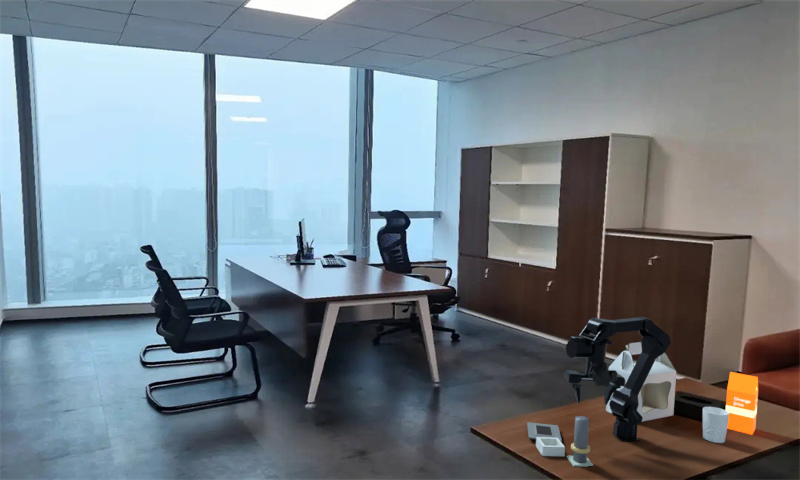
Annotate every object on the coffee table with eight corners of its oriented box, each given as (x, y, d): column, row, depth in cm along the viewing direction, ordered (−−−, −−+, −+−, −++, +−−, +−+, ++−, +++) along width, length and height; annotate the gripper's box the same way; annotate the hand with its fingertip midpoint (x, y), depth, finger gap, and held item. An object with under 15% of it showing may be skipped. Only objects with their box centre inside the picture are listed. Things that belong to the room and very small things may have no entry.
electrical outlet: (561, 447, 179) (561, 439, 179) (528, 443, 181) (528, 436, 181) (557, 431, 192) (558, 424, 192) (526, 428, 194) (527, 421, 194)
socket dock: (557, 446, 178) (557, 437, 178) (564, 456, 171) (565, 447, 171) (535, 446, 178) (536, 437, 177) (542, 455, 171) (542, 446, 170)
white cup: (724, 436, 191) (726, 408, 191) (729, 445, 184) (731, 416, 183) (698, 433, 194) (700, 405, 193) (703, 441, 186) (705, 412, 186)
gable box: (645, 404, 222) (649, 335, 220) (674, 415, 210) (679, 343, 209) (605, 411, 212) (609, 339, 210) (633, 423, 200) (638, 348, 199)
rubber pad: (585, 457, 171) (585, 455, 171) (593, 466, 165) (593, 464, 165) (566, 457, 170) (566, 455, 170) (573, 466, 164) (573, 464, 164)
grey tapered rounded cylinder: (581, 454, 171) (583, 414, 170) (593, 462, 166) (595, 421, 165) (566, 457, 169) (568, 416, 168) (578, 465, 164) (580, 423, 163)
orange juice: (727, 422, 205) (731, 369, 204) (755, 428, 200) (759, 374, 198) (723, 428, 199) (727, 373, 198) (752, 435, 194) (756, 379, 192)
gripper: (576, 361, 173) (572, 410, 173) (635, 365, 173) (630, 414, 174) (565, 352, 184) (561, 398, 185) (620, 356, 184) (615, 402, 185)
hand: (591, 403), depth 182 cm, fingers open, 9 cm apart
